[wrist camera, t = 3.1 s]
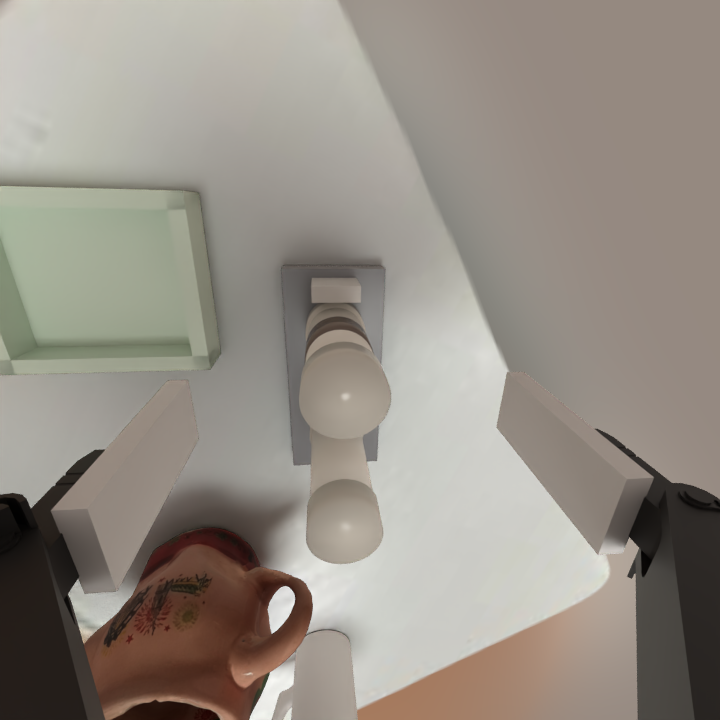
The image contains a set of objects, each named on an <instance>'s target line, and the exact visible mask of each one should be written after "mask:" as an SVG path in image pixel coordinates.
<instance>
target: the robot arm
mask: <svg viewBox="0 0 720 720" xmlns="http://www.w3.org/2000/svg"><path fill="white" fill-rule="evenodd" d="M497 428H498V430H499V431H500V432H501V433H502V435H503V436H504V437H505V439H506V440H507V441H508V442H509V444H510V445H511V446H512V447H513V449H514V450H515V451H516V452H517V454H518V455H519V456H520V457H521V459H522V460H523V461H524V462H525V464H526V465H527V466H528V467H529V469H530V470H531V471H532V472H533V474H534V475H535V476H536V478H537V479H538V480H539V481H540V483H541V484H542V485H543V486H544V488H545V489H546V490H547V491H548V493H549V494H550V495H551V496H552V498H553V499H554V500H555V501H556V503H557V504H558V505H559V506H560V508H561V509H562V510H563V512H564V513H565V514H566V515H567V517H568V518H569V519H570V520H571V522H572V523H573V524H574V525H575V527H576V528H577V529H578V530H579V532H580V533H581V534H582V535H583V537H584V538H585V539H586V540H587V542H588V543H589V544H590V545H591V547H592V548H593V549H594V551H595V552H596V553H597V554H598V555H604V554H617V553H623V551H624V548H625V546H626V543H627V541H628V539H629V537H630V538H631V539H632V540H633V541H634V542H635V543H636V545H637V546H638V547H639V550H638V553H637V555H636V557H635V560H634V562H633V564H632V566H631V568H630V571H629V573H628V577H629V578H632V577H633V575H634V574H635V573H636V629H637V692H638V693H637V697H638V720H720V500H719V499H718V498H717V497H715V496H714V495H712V494H710V493H708V492H707V491H705V490H702V489H699V488H697V487H694V486H691V485H687V484H683V483H671V482H670V481H669V480H667V479H666V478H665V477H663V476H662V475H661V474H660V473H658V472H657V471H656V470H655V469H653V468H652V467H651V466H650V465H648V464H647V463H646V462H644V461H643V460H642V459H641V458H639V457H636V455H635V454H634V453H633V452H632V451H631V450H629V449H626V448H625V446H624V445H623V444H622V443H620V442H619V441H617V439H615V438H614V437H612V436H610V435H608V434H607V433H605V432H603V431H601V430H598V429H594V428H592V427H591V426H590V425H589V424H588V423H586V422H585V421H584V420H583V419H581V418H580V417H579V416H578V415H576V414H575V413H574V412H573V411H571V410H570V409H569V408H568V407H566V406H565V405H564V404H563V403H562V402H560V401H559V400H558V399H557V398H556V397H554V396H553V395H552V394H551V393H549V392H548V391H547V390H545V389H544V388H543V387H542V386H541V385H539V384H538V383H537V382H536V381H535V380H533V379H532V378H531V377H529V376H528V375H527V374H526V373H525V372H507V375H506V380H505V386H504V391H503V396H502V401H501V406H500V411H499V417H498V422H497ZM198 439H199V436H198V431H197V425H196V420H195V415H194V409H193V404H192V398H191V393H190V387H189V382H188V380H168V381H167V382H166V383H165V384H164V385H163V386H162V387H161V389H160V390H159V391H158V392H157V393H156V394H155V395H154V396H153V397H152V399H151V400H150V401H149V402H148V403H147V404H146V405H145V406H144V407H143V409H142V410H141V411H140V412H139V413H138V414H137V415H136V416H135V417H134V419H133V420H132V421H131V422H130V423H129V424H128V425H127V426H126V427H125V429H124V430H123V431H122V432H121V433H120V434H119V435H118V436H117V437H116V439H115V440H114V441H113V442H112V443H111V444H110V445H109V446H108V447H107V449H106V450H94V451H93V452H91V453H89V454H88V455H86V456H85V457H83V458H81V459H80V460H78V461H77V462H76V463H75V464H74V465H73V466H72V467H71V468H70V469H69V470H68V471H67V472H66V475H65V476H62V477H61V478H60V480H59V481H58V482H57V483H56V485H55V486H53V487H52V488H51V489H50V490H49V491H48V492H47V493H46V494H45V495H44V496H43V497H42V498H41V499H40V500H39V501H38V502H37V503H36V504H35V505H34V506H33V507H32V508H30V506H29V504H28V501H27V499H26V498H25V497H24V496H23V495H21V494H15V493H10V494H2V495H0V720H105V717H104V713H103V710H102V706H101V703H100V699H99V696H98V693H97V689H96V686H95V682H94V679H93V675H92V672H91V668H90V665H89V661H88V658H87V654H86V651H85V648H84V644H83V641H82V637H81V634H80V630H79V627H78V623H77V620H76V616H75V613H74V609H73V606H72V602H71V600H70V598H69V595H68V593H69V591H70V590H71V588H72V587H73V585H74V584H75V582H76V580H77V579H79V581H80V584H81V586H82V588H83V591H84V593H85V594H89V593H102V592H116V591H117V590H118V588H119V586H120V585H121V583H122V581H123V579H124V577H125V575H126V573H127V572H128V570H129V568H130V566H131V564H132V562H133V560H134V559H135V557H136V555H137V553H138V551H139V549H140V547H141V546H142V544H143V542H144V540H145V538H146V536H147V534H148V532H149V531H150V529H151V527H152V525H153V523H154V521H155V519H156V518H157V516H158V514H159V512H160V510H161V508H162V506H163V505H164V503H165V501H166V499H167V497H168V495H169V493H170V492H171V490H172V488H173V486H174V484H175V482H176V480H177V478H178V477H179V475H180V473H181V471H182V469H183V467H184V465H185V464H186V462H187V460H188V458H189V456H190V454H191V452H192V451H193V449H194V447H195V445H196V443H197V441H198Z"/></svg>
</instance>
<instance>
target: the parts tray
mask: <svg viewBox="0 0 720 720" xmlns="http://www.w3.org/2000/svg"><path fill="white" fill-rule="evenodd" d="M220 354H221V350H220V342H219V335H218V328H217V321H216V313H215V306H214V299H213V291H212V284H211V277H210V270H209V262H208V255H207V248H206V241H205V233H204V226H203V219H202V212H201V204H200V197H199V193H196V192H190V191H183V190H143V189H102V188H62V187H22V186H0V375H28V374H66V373H104V372H142V371H180V370H210V369H211V368H212V366H213V365H214V363H215V362H216V360H217V359H218V357H219V356H220Z"/></svg>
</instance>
